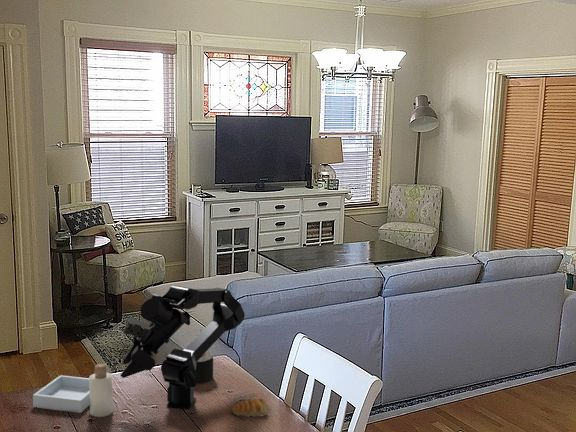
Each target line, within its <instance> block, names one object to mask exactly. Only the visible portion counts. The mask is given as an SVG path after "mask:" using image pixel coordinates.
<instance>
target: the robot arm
mask: <svg viewBox="0 0 576 432" xmlns="http://www.w3.org/2000/svg"><path fill="white" fill-rule="evenodd" d="M200 304H212V310H213V314H212V320H211V321H210V323H209V324H208V325H206V327H204V328H203V330H202V331H201V332H200V333H199V334H197V336H196V337H195V338H193V340H192V341H191V342H190V343H189V344H188V345H187V346H186V347H185V348H184V349H179V348H174V349H172V350H171V352H170V353H169V354H167V355H166V356H165V357H164V358H165V359H164V360H163V361H162V363H161V366H160V371H161V375H162V378H163V380H164V382H165V383H168V387H167V388H166V392H167V393H166V401H167V402H168V403H167V404H166V407H168V408H175V409H177V408H178V409H184V410H188V409H190V408H191V407H192V406H193V404H195V401H197V397H195V387H197V384H199V383H198V382H199V378H200V375H199V374H198V373H197V372H196V371H195V370H196V362H197V361H198V360H199V359H200V358H201V357H202V356H203V354H204V353H205V352H208V351H209V349H210V348H211V347H212V346H213V345H214V344H215V343H216V342H217V341H218V340H219V339H220V337H221V336H222V335H223V334H224V333H225V332H229V331H231V330H235V329H236V328H238V326H240V325H241V324H242V323H243V321H244V319H245V317H246V316H245V311H244V308H243V307H242V304H241V303H240V302H239V301H238V300H237V299H236V298H235V297H234V296H233V294H232V292H231V291H230V290H229V289H226V288H221V287H215V288H214V287H213V288H192V287H191V288H190V287H186V286H181V285H176V284H175V285H170V286H169V288H168V289H167V290H166V292H164V293H163V294H162V295H159V294H154V293H153V294H152V297H150V298H148V299H146V300H145V301H144V303H143V304H142V305H141V306H140V316H141V317H142V319H145V320H147V321H148V322H150V323H149V324H147V323H146V322H144V321H141V320H139V319H136V318H134V317H129V318H128V319H127V321H126V324H125V326H124V329H123V333H124V334H126V335H128V336H133V344H132V346H131V347H130V349H129V351H128V352H127V353H126V356H124V359H123V360H122V363H123V364H124V365H126V366H125V368H124V369H123V371H121V373H120V377H121V378H122V379H124V378H128V377H130V376H134V375H135V374H138V373H142V372H145V371H151V370H153V369H154V368H155V366H156V355H157V354H158V353H159V349H161V347H163V345H164V344H168V343H169V342H170V338H171V337H172V336H173V335H174V334H175V333H176V332H177V331H179V329H180V328H182V326H184V325H187V326H190V325H191V315H190V313H189V312H188V311H180V310H191V309H194V308H196V307H197V306H198V305H200Z"/></svg>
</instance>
